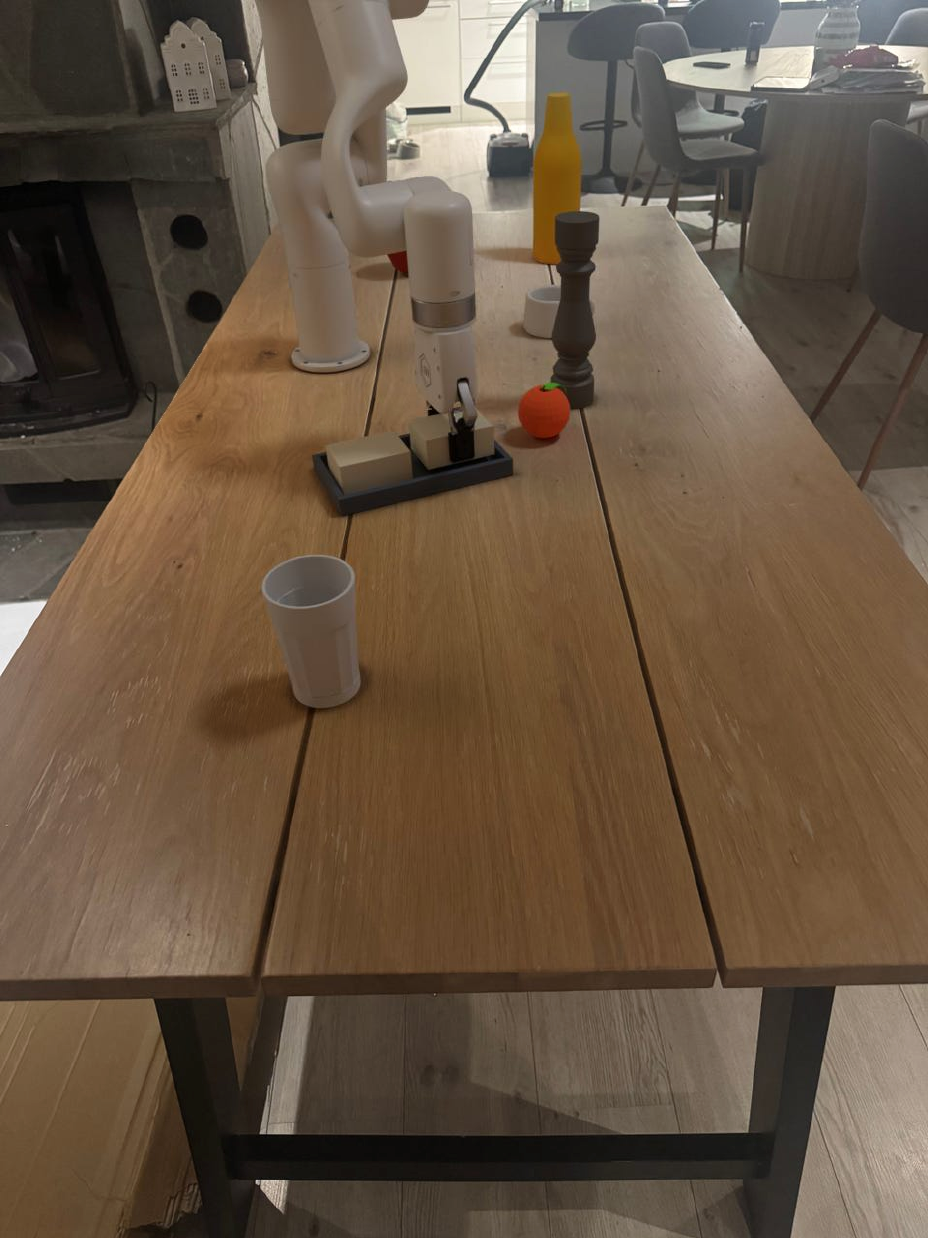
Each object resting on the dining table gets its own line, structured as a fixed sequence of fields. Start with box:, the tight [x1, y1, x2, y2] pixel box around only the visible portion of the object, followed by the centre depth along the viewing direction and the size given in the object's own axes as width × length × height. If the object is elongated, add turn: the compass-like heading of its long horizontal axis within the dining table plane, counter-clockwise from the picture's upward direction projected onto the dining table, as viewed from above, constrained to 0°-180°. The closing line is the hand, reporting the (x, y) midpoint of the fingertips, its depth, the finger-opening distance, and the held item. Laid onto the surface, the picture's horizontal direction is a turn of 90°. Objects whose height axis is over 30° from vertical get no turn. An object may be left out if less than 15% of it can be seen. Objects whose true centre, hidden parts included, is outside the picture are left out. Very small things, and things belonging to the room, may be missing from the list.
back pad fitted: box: [325, 430, 413, 496], centre depth 115 cm, size 6×9×4 cm
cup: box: [261, 554, 362, 709], centre depth 83 cm, size 8×8×12 cm
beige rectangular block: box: [408, 408, 495, 470], centre depth 118 cm, size 6×9×4 cm
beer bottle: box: [532, 92, 583, 265], centre depth 178 cm, size 9×9×29 cm
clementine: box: [517, 382, 571, 439], centre depth 123 cm, size 8×7×7 cm
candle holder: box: [550, 210, 600, 410], centre depth 126 cm, size 6×6×25 cm
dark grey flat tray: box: [311, 432, 514, 517], centre depth 118 cm, size 13×23×2 cm, turn 112°
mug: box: [522, 284, 596, 339], centre depth 154 cm, size 12×10×6 cm
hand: (451, 446), depth 118 cm, fingers closed on beige rectangular block, 6 cm apart
